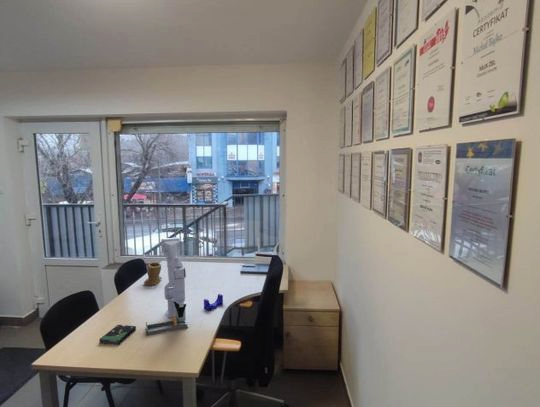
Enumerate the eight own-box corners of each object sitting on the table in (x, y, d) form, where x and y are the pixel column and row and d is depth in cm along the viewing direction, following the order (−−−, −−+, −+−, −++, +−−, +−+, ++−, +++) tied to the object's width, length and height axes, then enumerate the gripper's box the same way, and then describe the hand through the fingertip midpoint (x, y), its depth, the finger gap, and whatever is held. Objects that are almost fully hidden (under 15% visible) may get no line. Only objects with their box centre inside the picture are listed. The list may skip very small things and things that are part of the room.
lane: (145, 328, 165) (145, 322, 165) (185, 321, 174) (185, 315, 173) (146, 336, 158) (145, 329, 157) (187, 327, 166) (187, 321, 166)
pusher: (173, 323, 170) (173, 314, 169) (175, 322, 170) (175, 313, 170) (174, 328, 164) (174, 318, 164) (176, 327, 165) (176, 318, 164)
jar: (175, 318, 170) (175, 305, 169) (185, 317, 171) (185, 304, 171) (175, 322, 165) (175, 309, 165) (185, 321, 167) (185, 308, 166)
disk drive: (117, 329, 165) (99, 344, 151) (117, 324, 165) (98, 338, 151) (136, 331, 164) (119, 346, 150) (136, 325, 164) (118, 340, 149)
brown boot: (157, 286, 227) (157, 266, 225) (141, 286, 227) (140, 265, 226) (166, 279, 242) (165, 260, 240) (150, 278, 242) (150, 259, 241)
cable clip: (208, 311, 186) (208, 301, 186) (203, 309, 189) (203, 299, 189) (224, 305, 195) (224, 295, 194) (219, 303, 198) (219, 293, 198)
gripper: (169, 286, 172) (170, 310, 173) (173, 296, 158) (173, 322, 160) (182, 285, 174) (183, 308, 176) (187, 294, 161) (188, 319, 163)
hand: (179, 315), depth 168 cm, fingers closed on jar, 5 cm apart
